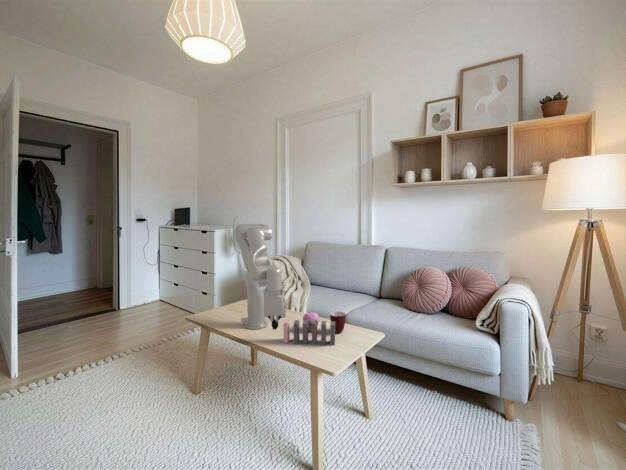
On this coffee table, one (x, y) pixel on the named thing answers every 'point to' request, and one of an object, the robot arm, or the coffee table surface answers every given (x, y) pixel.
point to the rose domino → (286, 331)
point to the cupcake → (311, 319)
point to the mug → (338, 321)
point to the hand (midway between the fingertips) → (275, 328)
